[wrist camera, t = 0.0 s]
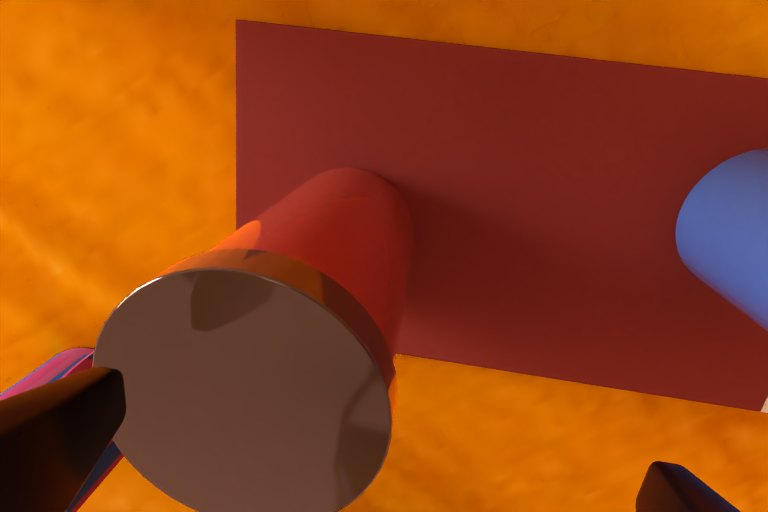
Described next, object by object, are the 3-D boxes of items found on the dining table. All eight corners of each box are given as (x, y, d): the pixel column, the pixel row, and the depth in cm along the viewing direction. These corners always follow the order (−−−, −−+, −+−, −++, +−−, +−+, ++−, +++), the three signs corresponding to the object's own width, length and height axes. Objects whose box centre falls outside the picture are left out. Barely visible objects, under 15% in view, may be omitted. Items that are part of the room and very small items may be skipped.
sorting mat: (1013, 447, 22) (1023, 454, 22) (239, 324, 25) (236, 328, 24) (1246, 132, 17) (1264, 133, 17) (239, 20, 20) (235, 19, 19)
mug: (26, 391, 28) (-95, 481, 22) (110, 287, 25) (-4, 356, 19) (116, 460, 29) (26, 564, 23) (207, 368, 26) (131, 460, 20)
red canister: (410, 307, 23) (374, 551, 11) (278, 287, 23) (106, 499, 11) (430, 172, 21) (411, 295, 9) (282, 153, 21) (72, 245, 9)
